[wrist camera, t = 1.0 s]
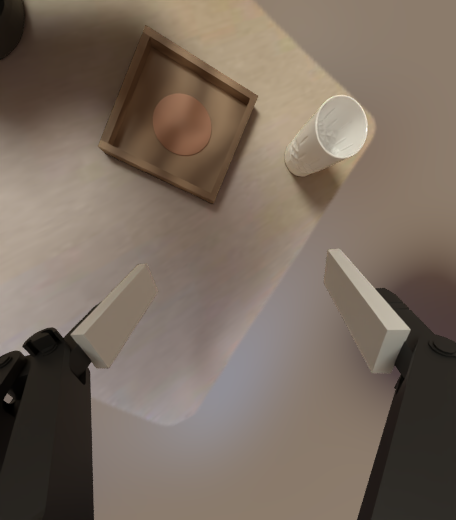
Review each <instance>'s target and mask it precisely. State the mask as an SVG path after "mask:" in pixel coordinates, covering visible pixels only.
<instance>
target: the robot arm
mask: <svg viewBox="0 0 456 520" xmlns="http://www.w3.org/2000/svg"><path fill="white" fill-rule="evenodd" d="M23 27H24V8H23V3H22V0H0V59H1V58H3V57H5V56H6V55H7V54H9V53H10V52H11V51H12V50H13V49H14V48H15V46H16V45H17V43H18V41H19V40H20V37H21V35H22V32H23ZM324 285H325V287H326V288H327V290H328V292H329V294H330V296H331V298H332V299H333V301H334V303H335V305H336V307H337V309H338V311H339V313H340V315H341V316H342V318H343V320H344V322H345V324H346V326H347V328H348V329H349V331H350V333H351V335H352V337H353V339H354V341H355V343H356V344H357V346H358V348H359V350H360V352H361V354H362V356H363V358H364V359H365V361H366V363H367V365H368V367H369V369H370V371H371V373H391V372H392V370H393V367H394V366H396V367H397V369H398V370H399V372H400V373H401V375H400V377H399V379H398V381H397V383H396V385H395V387H394V388H395V389H396V390H395V394H394V397H393V400H392V404H391V407H390V410H389V414H388V417H387V421H386V424H385V427H384V431H383V434H382V437H381V441H380V445H379V448H378V451H377V454H376V458H375V461H374V464H373V468H372V471H371V474H370V478H369V481H368V485H367V488H366V491H365V495H364V498H363V502H362V505H361V508H360V512H359V515H358V519H357V520H456V343H455V342H454V341H452V340H450V339H448V338H445V337H442V336H439V335H435V334H434V333H433V332H432V331H431V330H430V329H429V328H428V327H427V326H426V325H425V324H424V323H423V322H422V321H421V320H420V319H419V318H418V317H417V316H416V315H415V314H414V313H413V312H412V311H411V310H409V308H408V307H407V306H406V305H405V304H404V303H403V302H402V301H401V300H400V299H399V298H398V297H397V296H396V295H395V294H394V293H392V292H390V291H389V290H387V289H385V288H377V289H375V288H374V287H373V286H372V285H371V284H370V283H369V281H368V280H367V279H366V278H365V277H364V276H363V275H362V274H361V272H360V271H359V270H358V269H357V268H356V267H355V265H353V263H352V262H351V261H350V260H349V259H348V258H347V256H346V255H345V254H344V253H343V252H342V251H341V250H340V249H330V250H327V258H326V267H325V275H324ZM157 293H158V289H157V287H156V284H155V282H154V279H153V277H152V274H151V272H150V269H149V267H148V265H147V264H138V265H137V266H136V267H135V268H134V269H133V270H132V271H131V272H130V273H129V274H128V275H127V276H126V277H125V278H124V279H123V280H122V281H121V282H120V284H119V285H118V286H117V287H116V288H115V289H114V290H113V291H112V292H111V293H110V294H109V295H108V296H107V297H106V298H105V299H104V300H103V301H102V302H101V303H99V304H98V305H96V306H95V307H93V308H92V309H91V311H90V312H89V313H88V315H86V316H85V317H84V318H83V320H81V321H80V322H79V323H78V324H77V325H76V326H75V327H74V328H73V329H72V330H71V331H70V332H69V333H68V334H67V335H66V336H65V337H64V338H63V337H62V336H61V335H60V333H59V332H58V331H57V330H56V329H55V328H53V327H52V328H46V329H44V330H41V331H39V332H37V333H35V334H34V335H32V336H31V337H30V338H29V339H27V340H26V341H25V343H24V344H23V346H22V347H23V348H24V349H25V350H26V351H27V352H28V353H29V354H31V355H28V356H24V355H23V354H22V353H21V352H20V351H12V352H9V353H7V354H4V355H2V356H1V357H0V520H94V510H93V509H94V506H93V472H92V471H93V467H92V430H91V429H92V428H91V389H90V370H89V368H88V366H89V364H90V363H91V362H92V363H93V364H94V365H95V367H96V368H109V367H110V366H111V364H112V363H113V361H114V360H115V358H116V357H117V355H118V353H119V352H120V350H121V349H122V347H123V346H124V344H125V343H126V341H127V339H128V338H129V336H130V335H131V333H132V332H133V330H134V329H135V327H136V325H137V324H138V322H139V321H140V319H141V318H142V316H143V315H144V313H145V311H146V310H147V308H148V307H149V305H150V304H151V302H152V301H153V299H154V297H155V296H156V294H157ZM7 393H8V394H9V395H10V396H12V397H13V399H12V401H11V402H10V403H9V404H8V403H6V402H5V401H4V397H5V396H6V394H7Z"/></svg>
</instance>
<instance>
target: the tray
mask: <svg viewBox="0 0 456 520" xmlns="http://www.w3.org/2000/svg"><path fill="white" fill-rule="evenodd" d="M257 98H258V96H257V95H256V94H254V93H253V92H251V91H250V90H248V89H246V88H245V87H243V86H242V85H240V84H238V83H237V82H235V81H234V80H232V79H230V78H229V77H227V76H226V75H224V74H223V73H221V72H219V71H218V70H216V69H215V68H213V67H211V66H210V65H208V64H207V63H205V62H203V61H202V60H200V59H199V58H197V57H196V56H194V55H192V54H191V53H189V52H188V51H186V50H184V49H183V48H181V47H180V46H178V45H176V44H175V43H173V42H172V41H170V40H169V39H167V38H165V37H164V36H162V35H161V34H159V33H157V32H156V31H154V30H153V29H151V28H149V27H148V26H146V25H145V28H144V30H143V33H142V35H141V38H140V41H139V43H138V46H137V48H136V51H135V53H134V56H133V58H132V61H131V63H130V66H129V69H128V71H127V74H126V76H125V79H124V81H123V84H122V86H121V89H120V91H119V94H118V96H117V99H116V102H115V104H114V107H113V109H112V112H111V114H110V117H109V119H108V122H107V124H106V127H105V130H104V132H103V135H102V137H101V140H100V142H99V145H98V147H99V148H100V149H101V150H102V151H103V152H104V153H105V154H108V155H110V156H112V157H114V158H116V159H118V160H120V161H122V162H124V163H127V164H129V165H131V166H133V167H135V168H137V169H139V170H141V171H144V172H146V173H148V174H150V175H152V176H154V177H156V178H158V179H161V180H163V181H165V182H167V183H169V184H171V185H173V186H175V187H177V188H180V189H182V190H184V191H186V192H188V193H190V194H192V195H194V196H197V197H199V198H201V199H203V200H205V201H207V202H209V203H211V204H213V203H214V201H215V199H216V196H217V194H218V192H219V189H220V187H221V184H222V182H223V180H224V177H225V175H226V172H227V170H228V168H229V165H230V163H231V160H232V158H233V156H234V153H235V151H236V148H237V146H238V144H239V141H240V139H241V136H242V134H243V131H244V129H245V127H246V124H247V122H248V119H249V117H250V115H251V112H252V110H253V107H254V105H255V103H256V100H257Z"/></svg>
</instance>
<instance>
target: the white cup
mask: <svg viewBox="0 0 456 520" xmlns="http://www.w3.org/2000/svg"><path fill="white" fill-rule="evenodd" d="M367 132H368V123H367V118H366V115H365V112H364V110H363V108H362V107H361V105H360V104H359V103H358V102H357V101H356V100H355V99H353V98H351V97H349V96H346V95H336V96H333V97H331V98H329V99H328V100H326V101H325V102H324V103H323V104H322V105H321V107H320V108H319V109H318V110H317V111H316V112H315V113H314V115H313V116H312V117H311V118H310V119H309V120H308V121H307V122H306V123H305V125H304V126H303V127H302V128H301V130H300V131H299V132H298V133H297V134H296V136H295V138H294V139H293V140H292V141H291V142H290V144H289V145H288V146H287V148H286V152H285V164H286V165H287V167H288V169H289V171H290V172H292V173H293V174H294V175H296V176H302V177H304V176H307V175H310V174H312V173H314V172H318V171H320V170H323V169H325V168H327V167H330V166H332V165H334V164H336V163H338V162H341V161H343V160H345V159H347V158H349V157H352V156H353V155H355V154H356V153H357V152H358V151H359V150H360V149H361V148H362V146H363V145H364V143H365V140H366V137H367Z"/></svg>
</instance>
